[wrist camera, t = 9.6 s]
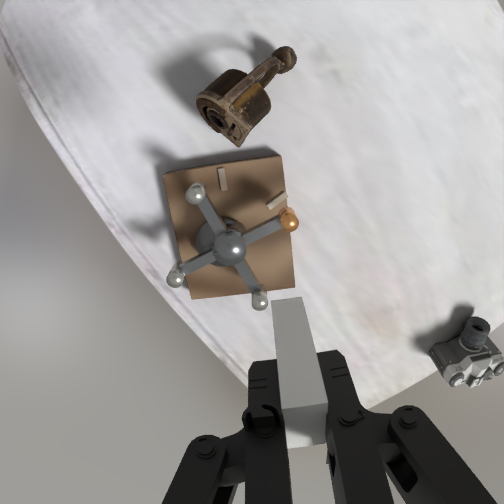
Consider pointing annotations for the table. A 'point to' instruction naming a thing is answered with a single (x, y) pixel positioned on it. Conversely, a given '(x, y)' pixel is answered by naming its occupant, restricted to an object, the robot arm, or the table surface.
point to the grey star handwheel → (228, 243)
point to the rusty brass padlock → (242, 96)
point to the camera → (468, 356)
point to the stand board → (238, 208)
